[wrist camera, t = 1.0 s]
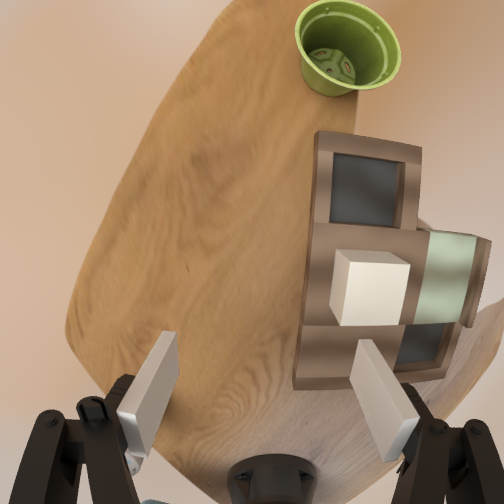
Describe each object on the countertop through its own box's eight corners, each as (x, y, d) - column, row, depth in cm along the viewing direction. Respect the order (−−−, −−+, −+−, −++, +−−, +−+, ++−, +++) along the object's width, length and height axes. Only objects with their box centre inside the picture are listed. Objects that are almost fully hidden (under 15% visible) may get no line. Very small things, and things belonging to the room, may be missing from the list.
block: (380, 305, 31) (398, 325, 26) (328, 304, 31) (340, 325, 26) (389, 252, 30) (410, 264, 25) (335, 248, 30) (350, 261, 25)
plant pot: (348, 30, 26) (371, -7, 18) (382, 100, 28) (418, 79, 20) (272, 47, 27) (277, 8, 19) (306, 121, 29) (323, 101, 21)
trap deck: (436, 369, 36) (450, 385, 32) (291, 378, 36) (295, 400, 32) (476, 164, 29) (498, 164, 25) (314, 134, 30) (323, 126, 25)
